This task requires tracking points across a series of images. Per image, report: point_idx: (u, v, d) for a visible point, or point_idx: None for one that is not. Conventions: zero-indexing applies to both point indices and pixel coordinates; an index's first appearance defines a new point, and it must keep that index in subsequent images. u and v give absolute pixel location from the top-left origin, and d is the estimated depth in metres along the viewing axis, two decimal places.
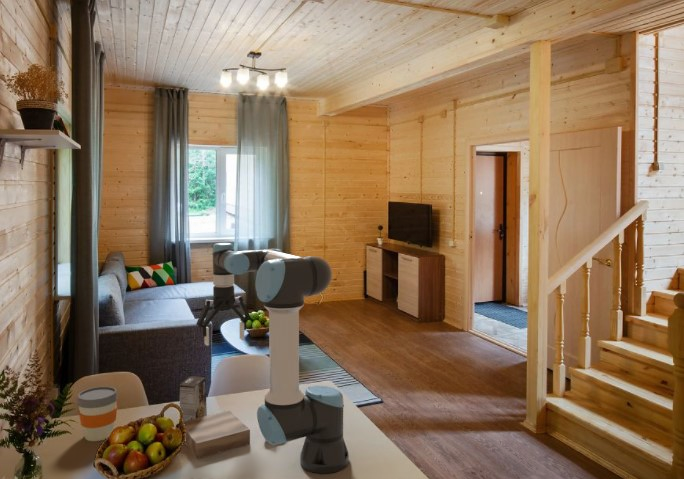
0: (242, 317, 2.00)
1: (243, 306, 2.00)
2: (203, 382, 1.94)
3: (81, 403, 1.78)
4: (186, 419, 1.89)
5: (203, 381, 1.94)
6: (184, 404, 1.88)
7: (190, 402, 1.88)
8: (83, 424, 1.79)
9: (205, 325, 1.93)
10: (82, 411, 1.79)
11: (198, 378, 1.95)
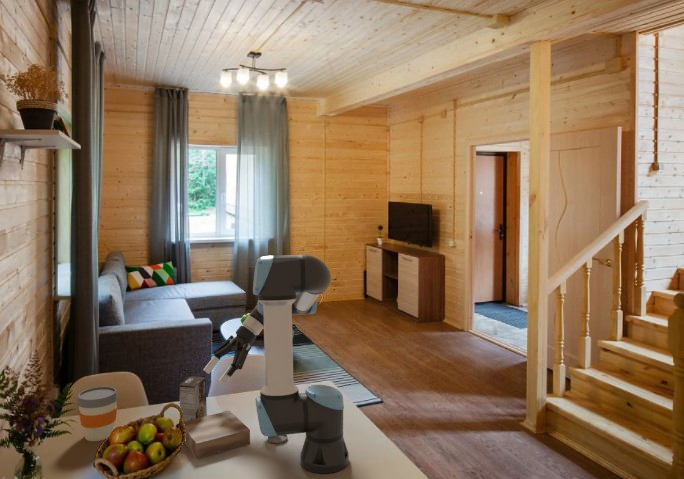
0: (234, 360, 1.95)
1: (241, 351, 1.96)
2: (203, 382, 1.94)
3: (81, 403, 1.78)
4: (186, 419, 1.89)
5: (203, 381, 1.94)
6: (184, 404, 1.88)
7: (190, 402, 1.88)
8: (83, 424, 1.79)
9: (215, 353, 2.06)
10: (82, 411, 1.79)
11: (198, 378, 1.95)
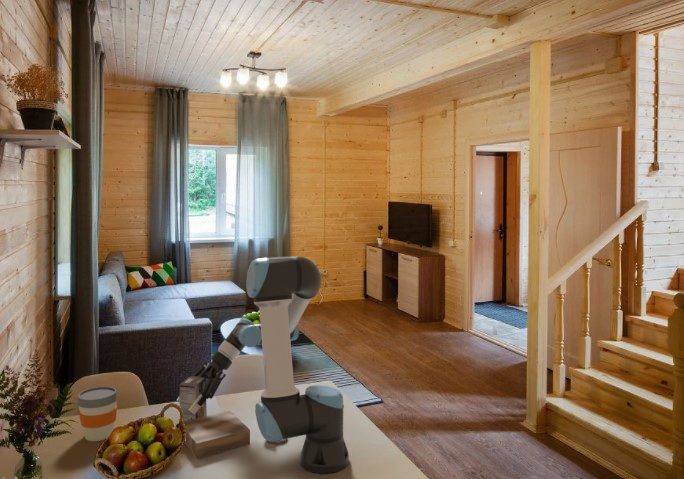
0: (205, 389, 1.89)
1: (214, 379, 1.90)
2: (203, 382, 1.94)
3: (81, 403, 1.78)
4: (186, 419, 1.89)
5: (203, 381, 1.94)
6: (184, 404, 1.89)
7: (190, 402, 1.88)
8: (83, 424, 1.79)
9: None
10: (82, 411, 1.79)
11: (198, 378, 1.95)
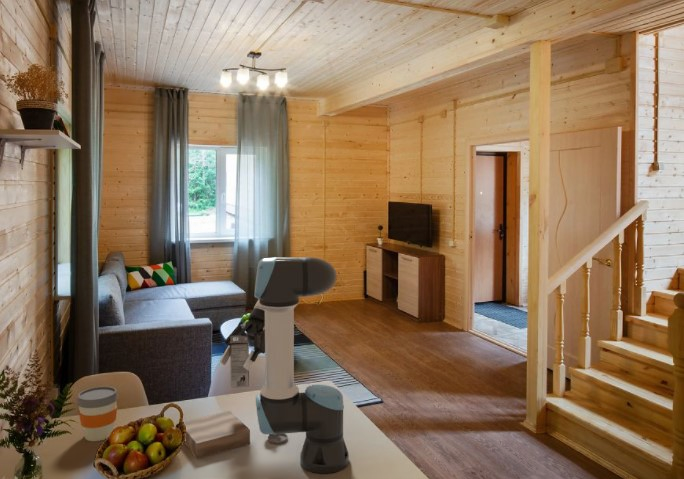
0: (255, 345, 1.88)
1: (263, 335, 1.90)
2: None
3: (81, 403, 1.78)
4: (238, 377, 1.86)
5: None
6: (236, 362, 1.85)
7: (242, 359, 1.85)
8: (83, 424, 1.79)
9: (229, 342, 1.94)
10: (82, 411, 1.79)
11: (241, 336, 1.92)
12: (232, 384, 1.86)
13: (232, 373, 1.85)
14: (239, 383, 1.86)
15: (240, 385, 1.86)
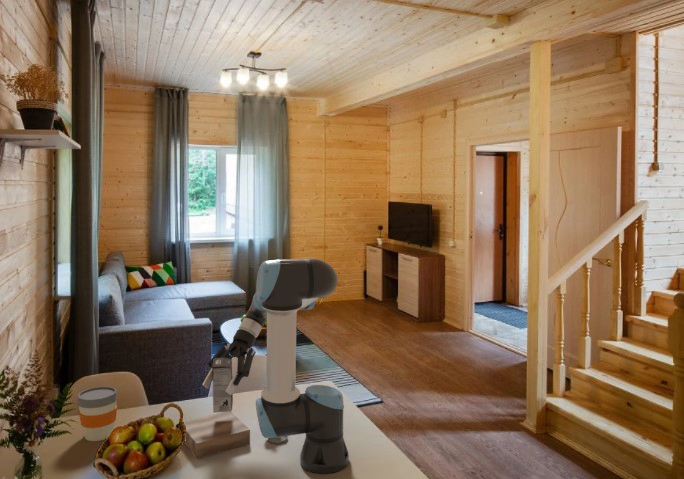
0: (239, 368, 1.83)
1: (247, 357, 1.84)
2: None
3: (81, 403, 1.78)
4: (220, 402, 1.80)
5: (231, 361, 1.86)
6: (218, 387, 1.80)
7: (225, 383, 1.80)
8: (83, 424, 1.79)
9: None
10: (82, 411, 1.79)
11: (225, 359, 1.86)
12: (214, 409, 1.80)
13: (214, 397, 1.80)
14: (222, 407, 1.81)
15: (223, 410, 1.81)
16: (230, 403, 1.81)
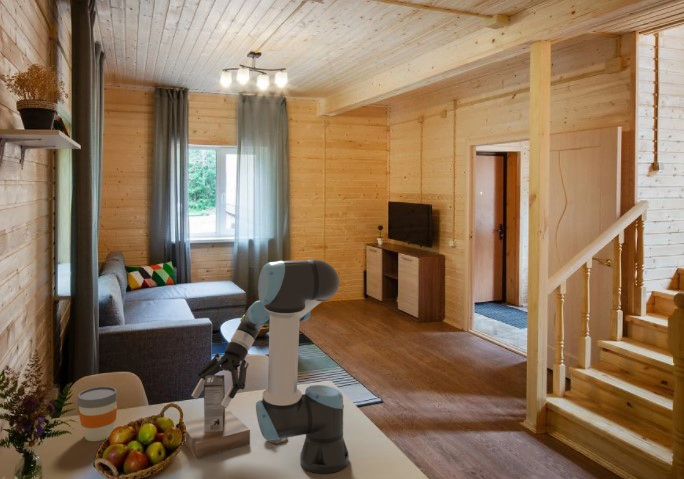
0: (234, 380, 1.78)
1: (241, 369, 1.80)
2: None
3: (81, 403, 1.78)
4: (212, 421, 1.76)
5: None
6: (210, 405, 1.75)
7: (217, 402, 1.76)
8: (83, 424, 1.79)
9: (202, 375, 1.85)
10: (82, 411, 1.79)
11: (217, 376, 1.82)
12: (206, 428, 1.76)
13: (206, 417, 1.76)
14: (213, 427, 1.76)
15: (214, 429, 1.76)
16: (222, 422, 1.77)
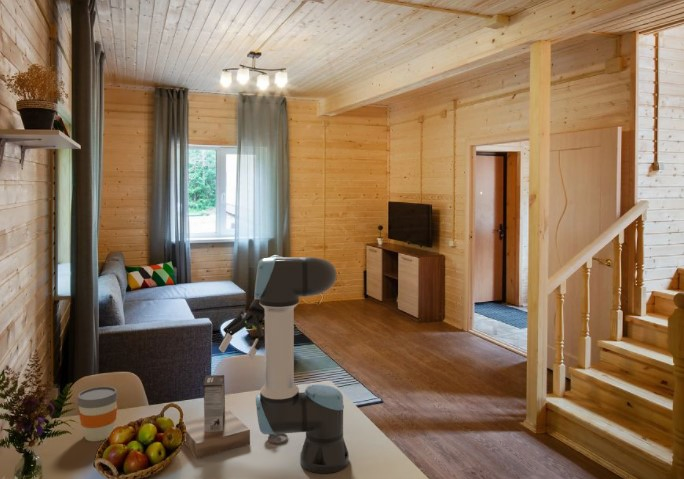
0: (259, 333, 1.88)
1: None
2: None
3: (81, 403, 1.78)
4: (212, 421, 1.76)
5: None
6: (210, 405, 1.75)
7: (217, 402, 1.76)
8: (83, 424, 1.79)
9: (228, 330, 1.95)
10: (82, 411, 1.79)
11: (217, 376, 1.82)
12: (206, 428, 1.76)
13: (206, 417, 1.76)
14: (213, 427, 1.76)
15: (214, 429, 1.76)
16: (222, 422, 1.77)
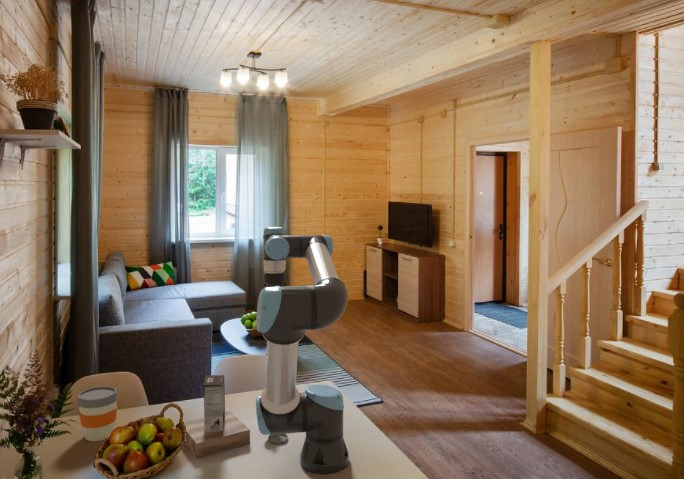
0: None
1: None
2: None
3: (81, 403, 1.78)
4: (212, 421, 1.76)
5: None
6: (210, 405, 1.75)
7: (217, 402, 1.76)
8: (83, 424, 1.79)
9: None
10: (82, 411, 1.79)
11: (217, 376, 1.82)
12: (206, 428, 1.76)
13: (206, 417, 1.76)
14: (213, 427, 1.76)
15: (214, 429, 1.76)
16: (222, 422, 1.77)
